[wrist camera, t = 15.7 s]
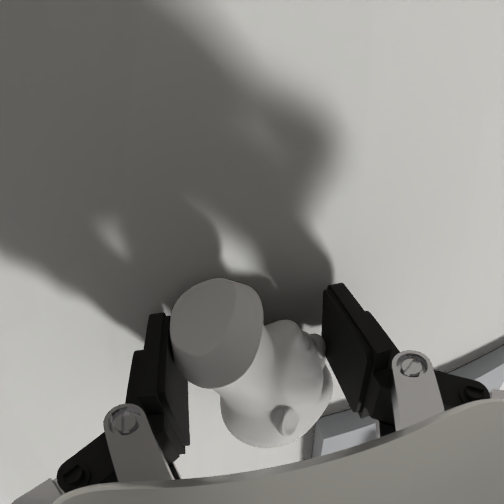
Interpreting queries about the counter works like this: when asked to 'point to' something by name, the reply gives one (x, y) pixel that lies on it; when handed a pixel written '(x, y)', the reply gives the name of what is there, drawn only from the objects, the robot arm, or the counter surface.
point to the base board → (364, 430)
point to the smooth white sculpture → (250, 363)
